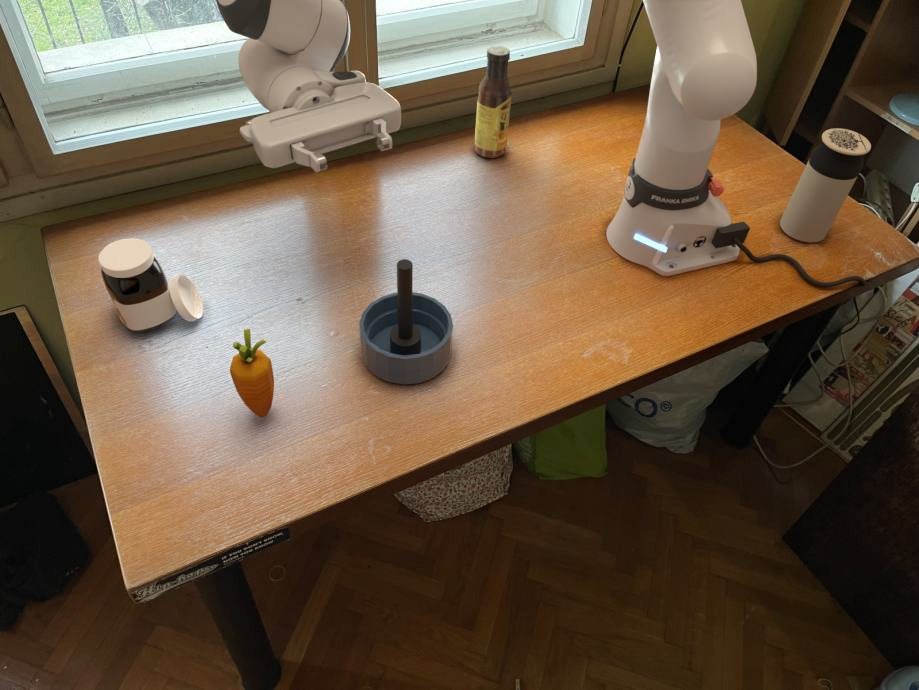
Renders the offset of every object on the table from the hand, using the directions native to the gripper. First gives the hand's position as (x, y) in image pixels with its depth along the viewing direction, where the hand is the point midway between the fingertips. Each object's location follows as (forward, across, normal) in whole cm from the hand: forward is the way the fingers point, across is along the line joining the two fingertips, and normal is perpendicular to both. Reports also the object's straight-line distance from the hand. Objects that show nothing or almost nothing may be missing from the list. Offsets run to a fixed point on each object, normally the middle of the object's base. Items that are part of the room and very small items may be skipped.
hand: (355, 155), depth 91 cm
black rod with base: (+12, 0, +25) cm, 28 cm away
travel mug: (+24, +75, +26) cm, 83 cm away
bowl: (+12, 0, +26) cm, 29 cm away
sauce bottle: (-25, +42, +26) cm, 55 cm away
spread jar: (-14, -27, +26) cm, 40 cm away
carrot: (+12, -22, +26) cm, 36 cm away
